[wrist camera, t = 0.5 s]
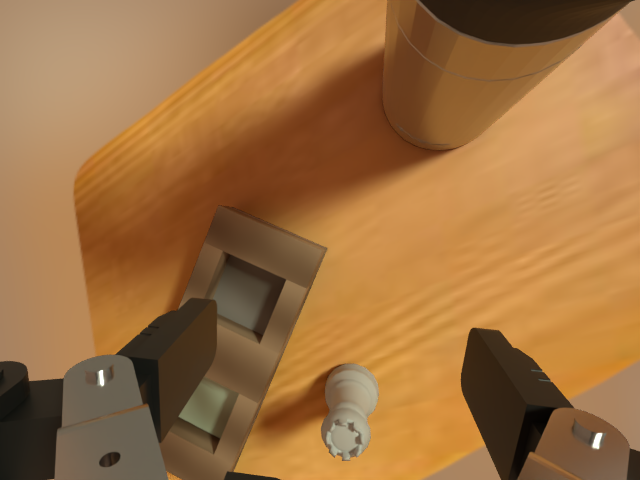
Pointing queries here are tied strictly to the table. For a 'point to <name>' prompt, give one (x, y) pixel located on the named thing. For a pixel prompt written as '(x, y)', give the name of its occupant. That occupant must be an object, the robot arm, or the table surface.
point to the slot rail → (239, 336)
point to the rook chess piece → (349, 410)
